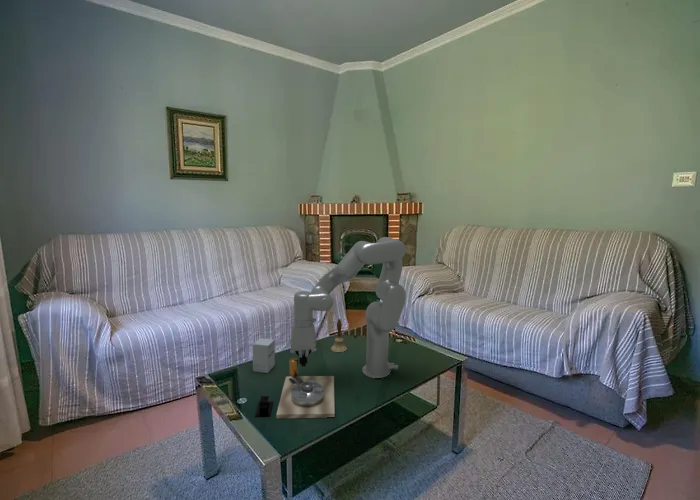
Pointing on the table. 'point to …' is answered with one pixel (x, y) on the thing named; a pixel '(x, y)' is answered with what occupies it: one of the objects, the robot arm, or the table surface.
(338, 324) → the hand bell
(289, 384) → the birch board
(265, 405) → the black stand with base
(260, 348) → the supplement box
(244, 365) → the table surface
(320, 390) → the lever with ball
